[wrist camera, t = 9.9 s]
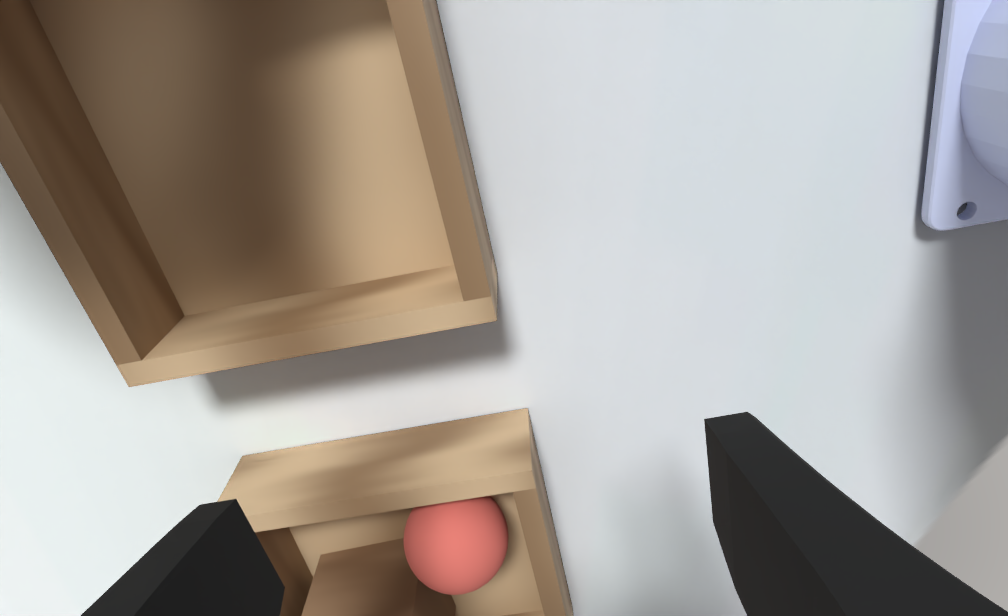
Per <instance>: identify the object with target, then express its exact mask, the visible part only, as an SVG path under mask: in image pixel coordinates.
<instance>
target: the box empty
mask: <svg viewBox="0 0 1008 616" xmlns="http://www.w3.org/2000/svg"><path fill="white" fill-rule="evenodd" d="M0 162H1V164H2V166H3V168H4V169H5V171H6V173H7V175H8V176H9V178H10V180H11V182H12V183H13V185H14V187H15V189H16V190H17V192H18V194H19V196H20V197H21V199H22V201H23V203H24V204H25V206H26V208H27V210H28V211H29V213H30V215H31V217H32V218H33V220H34V222H35V224H36V225H37V227H38V229H39V231H40V232H41V234H42V236H43V238H44V239H45V241H46V243H47V245H48V246H49V248H50V250H51V252H52V253H53V255H54V257H55V259H56V260H57V262H58V264H59V266H60V267H61V269H62V271H63V273H64V274H65V276H66V278H67V280H68V281H69V283H70V285H71V287H72V288H73V290H74V292H75V294H76V295H77V297H78V299H79V301H80V302H81V304H82V306H83V308H84V309H85V311H86V313H87V315H88V316H89V318H90V320H91V322H92V323H93V325H94V327H95V329H96V330H97V332H98V334H99V336H100V337H101V339H102V341H103V343H104V344H105V346H106V348H107V350H108V351H109V353H110V355H111V357H112V358H113V360H114V362H115V364H116V365H117V367H118V369H119V371H120V372H121V374H122V376H123V378H124V379H125V381H126V383H127V385H128V386H129V387H132V386H138V385H144V384H149V383H155V382H160V381H166V380H171V379H177V378H182V377H188V376H194V375H199V374H205V373H210V372H216V371H221V370H227V369H232V368H238V367H243V366H249V365H255V364H260V363H266V362H271V361H277V360H282V359H288V358H293V357H299V356H304V355H310V354H316V353H321V352H327V351H332V350H338V349H343V348H349V347H354V346H360V345H366V344H371V343H377V342H382V341H388V340H393V339H399V338H404V337H410V336H415V335H421V334H427V333H432V332H438V331H443V330H449V329H454V328H460V327H465V326H471V325H476V324H482V323H488V322H493V321H497V269H496V265H495V261H494V256H493V252H492V247H491V243H490V238H489V234H488V229H487V225H486V220H485V216H484V212H483V207H482V203H481V198H480V194H479V189H478V185H477V180H476V176H475V171H474V167H473V163H472V158H471V154H470V149H469V145H468V140H467V136H466V131H465V127H464V122H463V118H462V114H461V109H460V105H459V100H458V96H457V91H456V87H455V82H454V78H453V73H452V69H451V65H450V60H449V56H448V51H447V47H446V42H445V38H444V33H443V29H442V24H441V20H440V16H439V11H438V7H437V2H436V0H0Z"/></svg>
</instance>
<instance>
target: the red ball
mask: <svg viewBox="0 0 1008 616" xmlns="http://www.w3.org/2000/svg"><path fill="white" fill-rule="evenodd" d="M403 541H404V551H405V555H406V559H407V562H408V564H409V566H410V568H411V570H412V571H413V573H414V574H415V576H416V577H417V578H418V579H419V580H420V581H421V582H422V583H423V584H425V585H426V586H427V587H429V588H430V589H432V590H435V591H437V592H440V593H443V594H448V595H461V594H466V593H469V592H473V591H475V590H477V589H479V588H481V587H482V586H484V585H485V584H487V583H488V582H489V581H490V580H491V579H492V578H493V577H494V576H495V575H496V573H497V572H498V570H499V569H500V567H501V566H502V564H503V561H504V559H505V556H506V553H507V548H508V527H507V523H506V519H505V516H504V514H503V512H502V510H501V508H500V507H499V505H498V504H497V503H496V501H495V500H494V499H493V498H492V497H491V496H484V497H477V498H471V499H465V500H458V501H452V502H445V503H439V504H433V505H426V506H420V507H414V508H413V509H412V511H411V513H410V515H409V517H408V519H407V522H406V526H405V530H404V540H403Z"/></svg>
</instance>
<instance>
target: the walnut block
mask: <svg viewBox="0 0 1008 616" xmlns="http://www.w3.org/2000/svg"><path fill="white" fill-rule="evenodd" d="M403 540H404V538H401V539H396V540H391V541H386V542H381V543H376V544H371V545H366V546H361V547H356V548H351V549H346V550H341V551H336V552H331V553H326V554H321V555H320V558H319V561H318V565H317V568H316V571H315V574H314V577H313V580H312V584H311V587H310V590H309V593H308V596H307V599H306V603H305V606H304V609H303V612H302V615H301V616H455V613H456V605H455V602H454V600H453V598H452V596H451V595H448V594H443V593H440V592H437V591H435V590H432V589H430V588H429V587H427V586H426V585H425V584H423V583H422V582H421V581H420V580H419V579H418V578H417V577H416V576H415V574H414V573H413V571H412V570H411V568H410V566H409V564H408V562H407V559H406V555H405V551H404V541H403Z"/></svg>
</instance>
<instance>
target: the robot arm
mask: <svg viewBox="0 0 1008 616" xmlns="http://www.w3.org/2000/svg"><path fill="white" fill-rule="evenodd" d="M966 202H967V207H966V209H965V210H964V211H963V212H962V213H961V214H959V215H957V211H958V208H959V207H960V206H961V205H962V204H964V203H966ZM921 216H922V221H923V222H924V223H925V225H927V226H929V227H930V228H932V229H935V230H937V231H946V230H952V229H957V228H963V227H968V226H974V225H979V224H985V223H990V222H996V221H1001V220H1007V219H1008V0H945V1H944V11H943V20H942V29H941V38H940V47H939V56H938V65H937V75H936V84H935V93H934V102H933V111H932V120H931V130H930V139H929V148H928V157H927V166H926V175H925V184H924V194H923V203H922V212H921ZM704 420H705V432H706V444H707V455H708V467H709V479H710V490H711V502H712V514H713V523H714V526H715V529H716V532H717V535H718V538H719V541H720V544H721V547H722V550H723V553H724V557H725V560H726V562H727V565H728V568H729V571H730V574H731V577H732V580H733V583H734V586H735V589H736V591H737V594H738V596H739V598H740V600H741V603H742V605H743V607H744V609H745V612H746V614H747V616H1008V612H1007V611H1006V610H1004V609H1003V608H1001V607H999V606H998V605H996V604H995V603H993V602H992V601H990V600H989V599H987V598H986V597H984V596H983V595H981V594H979V593H978V592H977V591H975V590H974V589H973V588H971V587H970V586H968V585H967V584H965V583H964V582H962V581H961V580H959V579H958V578H957V577H955V576H954V575H952V574H951V573H949V572H948V571H946V570H945V569H943V568H942V567H941V566H940V565H938V564H937V563H935V562H934V561H933V560H931V559H930V558H928V557H927V556H925V555H924V554H923V553H921V552H920V551H919V550H917V549H916V548H914V547H913V546H912V545H910V544H909V543H907V542H906V541H905V540H903V539H902V538H901V537H899V536H898V535H897V534H895V533H894V532H893V531H891V530H890V529H889V528H888V527H886V526H885V525H884V524H882V523H881V522H880V521H878V520H877V519H876V518H875V517H873V516H872V515H871V514H869V513H868V512H867V511H866V510H864V509H863V508H862V507H861V506H859V505H858V504H857V503H856V502H854V501H853V500H852V499H850V498H849V497H848V496H847V495H845V494H844V493H843V492H842V491H840V490H839V489H838V488H837V487H835V486H834V485H833V484H832V483H830V482H829V481H828V480H827V479H826V478H824V477H823V476H822V475H821V474H820V473H818V472H817V471H816V470H815V469H814V468H813V467H811V466H810V465H809V464H808V463H807V462H805V461H804V460H803V459H802V458H801V457H800V456H798V455H797V454H796V453H795V452H794V451H793V450H792V449H790V448H789V447H788V446H787V445H786V444H785V443H784V442H782V441H781V440H780V439H779V438H778V437H777V436H776V435H775V434H773V433H772V432H771V431H770V430H769V429H768V428H767V427H766V426H765V425H763V424H762V423H761V422H760V421H759V420H758V419H757V418H756V417H754V416H753V415H751V414H750V413H748V412H744V413H738V414H732V415H726V416H720V417H714V418H708V419H704ZM284 590H285V586H284V585H283V583H282V581H281V579H280V577H279V576H278V574H277V572H276V570H275V568H274V566H273V565H272V563H271V561H270V559H269V557H268V556H267V554H266V552H265V550H264V548H263V546H262V545H261V543H260V541H259V539H258V537H257V536H256V534H255V532H254V530H253V528H252V526H251V525H250V523H249V521H248V519H247V517H246V516H245V514H244V512H243V510H242V508H241V507H240V505H239V503H238V501H237V499H231V500H226V501H220V502H214V503H208V504H202V505H199V506H198V507H197V508H196V509H194V510H193V511H192V512H191V513H190V514H188V515H187V516H186V517H185V518H184V519H183V520H181V521H180V522H179V523H178V524H177V525H176V526H175V527H174V528H173V529H172V530H170V531H169V532H168V533H167V534H166V535H165V536H164V537H163V538H162V539H161V540H160V541H159V542H158V543H156V544H155V545H154V546H153V547H152V548H151V549H150V550H149V551H148V552H147V553H146V554H145V555H144V556H143V557H142V558H141V559H140V560H139V561H138V562H136V563H135V564H134V565H133V566H132V567H131V568H130V569H129V570H128V571H127V572H126V573H125V574H124V575H123V576H122V577H121V578H120V579H119V580H118V581H117V582H116V583H114V584H113V585H112V586H111V587H110V588H109V589H108V590H107V591H106V592H105V593H104V594H103V595H102V596H101V597H100V598H99V599H98V600H97V601H96V602H95V603H93V604H92V605H91V606H90V607H89V608H88V609H87V610H86V611H85V612H84V613H83V614H82V615H81V616H280V612H281V607H282V601H283V596H284Z"/></svg>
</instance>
